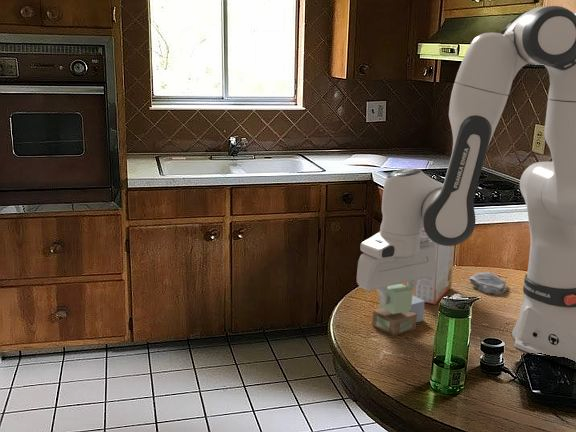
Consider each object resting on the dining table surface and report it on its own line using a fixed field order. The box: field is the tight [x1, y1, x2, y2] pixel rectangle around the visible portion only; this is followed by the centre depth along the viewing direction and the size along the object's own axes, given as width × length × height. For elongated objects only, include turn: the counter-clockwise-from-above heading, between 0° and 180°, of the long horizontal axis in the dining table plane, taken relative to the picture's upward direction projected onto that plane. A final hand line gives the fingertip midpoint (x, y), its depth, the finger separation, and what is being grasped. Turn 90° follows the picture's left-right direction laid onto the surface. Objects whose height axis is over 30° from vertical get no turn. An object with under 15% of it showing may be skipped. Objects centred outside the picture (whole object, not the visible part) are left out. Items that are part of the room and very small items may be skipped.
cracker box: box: [413, 227, 456, 305], centre depth 167 cm, size 14×6×21 cm, turn 149°
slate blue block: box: [411, 294, 425, 323], centre depth 154 cm, size 5×5×5 cm
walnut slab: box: [371, 307, 417, 337], centre depth 149 cm, size 7×7×4 cm
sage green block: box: [379, 283, 414, 314], centre depth 146 cm, size 5×5×5 cm
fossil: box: [468, 271, 508, 295], centre depth 175 cm, size 11×4×10 cm
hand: (395, 300), depth 146 cm, fingers closed on sage green block, 5 cm apart
